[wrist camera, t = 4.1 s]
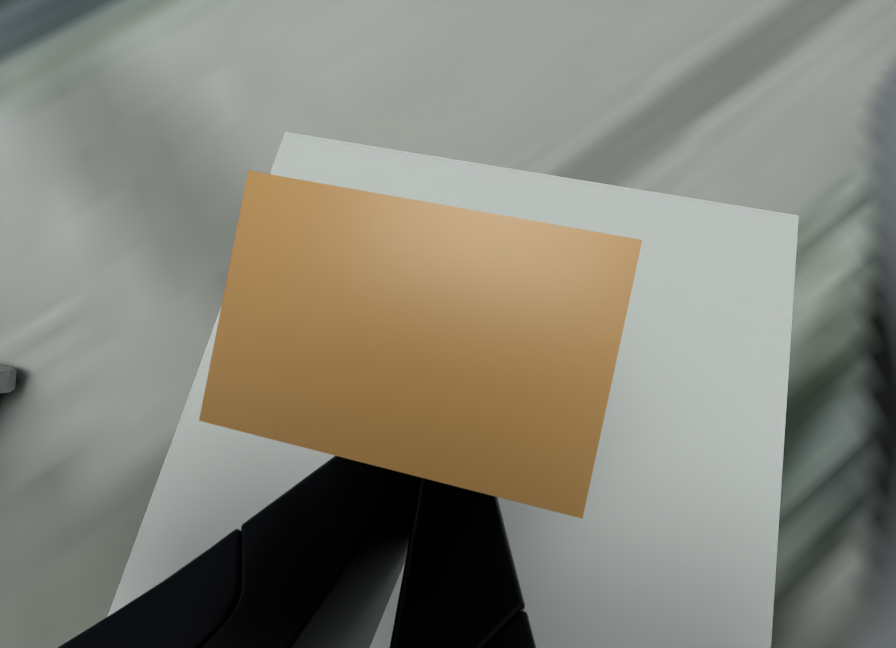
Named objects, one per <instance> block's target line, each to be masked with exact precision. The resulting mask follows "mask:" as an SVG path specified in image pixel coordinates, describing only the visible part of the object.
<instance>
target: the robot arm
mask: <svg viewBox="0 0 896 648" xmlns="http://www.w3.org/2000/svg"><path fill="white" fill-rule="evenodd" d="M404 563H405V565H404ZM403 565H404V571H403V576H402V582H401V587H400V593H399V598H398V604H397V609H396V615H395V620H394V626H393V631H392V637H391V642H390V648H536V645H535V641H534V637H533V633H532V629H531V625H530V621H529V617H528V614H527V612H525V611H524V609H525V603H524V599H523V595H522V591H521V587H520V583H519V580H518V576H517V572H516V568H515V564H514V560H513V556H512V552H511V548H510V544H509V540H508V536H507V532H506V529H505V525H504V521H503V517H502V513H501V509H500V505H499V501H498V497H495V496H491V495H488V494H484V493H480V492H476V491H472V490H468V489H464V488H460V487H456V486H452V485H448V484H445V483H441V482H437V481H433V480H429V479H425V478H421V477H417V476H413V475H409V474H405V473H402V472H398V471H394V470H390V469H386V468H382V467H378V466H374V465H370V464H366V463H362V462H359V461H355V460H351V459H347V458H343V457H339V456H334V457H333V458H331V459H330V460H328V461H327V462H326V463H324V464H323V465H322V466H320V467H319V468H318V469H316V470H315V471H314V472H312V473H311V474H310V475H308V476H307V477H305V478H304V479H303V480H301V481H300V482H299V483H297V484H296V485H295V486H293V487H292V488H291V489H289V490H288V491H287V492H285V493H284V494H283V495H281V496H280V497H278V498H277V499H276V500H274V501H273V502H272V503H270V504H269V505H268V506H266V507H265V508H264V509H262V510H261V511H260V512H258V513H257V514H256V515H254V516H253V517H251V518H250V519H249V520H247V521H246V522H245V523H243V524H242V526H241V530H239V529H235V530H233V531H232V532H231V533H229V534H228V535H227V536H225V537H224V538H223V539H221V540H220V541H219V542H217V543H216V544H215V545H213V546H212V547H210V548H209V549H208V550H206V551H205V552H204V553H202V554H201V555H199V556H198V557H196V558H195V559H194V560H192V561H191V562H189V563H188V564H186V565H185V566H184V567H182V568H181V569H179V570H178V571H177V572H175V573H174V574H172V575H171V576H169V577H168V578H167V579H165V580H164V581H162V582H161V583H159V584H158V585H156V586H155V587H153V588H151V589H150V590H148V591H147V592H145V593H144V594H142V595H141V596H139V597H138V598H136V599H134V600H133V601H131V602H130V603H128V604H127V605H125V606H124V607H122V608H120V609H119V610H117V611H116V612H114V613H113V614H111V615H110V616H108V617H107V618H105V619H103V620H102V621H100V622H98V623H97V624H95V625H94V626H92V627H90V628H89V629H87V630H85V631H84V632H82V633H81V634H79V635H77V636H76V637H74V638H73V639H71V640H69V641H68V642H66V643H64V644H63V645H61V646H60V647H58V648H370V645H371V643H372V640H373V638H374V635H375V633H376V631H377V628H378V626H379V623H380V621H381V619H382V616H383V614H384V611H385V609H386V606H387V604H388V602H389V599H390V597H391V594H392V592H393V590H394V587H395V585H396V582H397V580H398V577H399V575H400V573H401V570H402V568H403Z"/></svg>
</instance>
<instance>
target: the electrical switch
mask: <svg viewBox="0 0 896 648" xmlns="http://www.w3.org/2000/svg"><path fill="white" fill-rule="evenodd" d="M16 372H17V370H16V369H14V368H13V367H11V366H6V365H0V393H8V392H11V391H12V390H14V389H15V384H16Z"/></svg>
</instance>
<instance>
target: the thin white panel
mask: <svg viewBox="0 0 896 648" xmlns="http://www.w3.org/2000/svg"><path fill="white" fill-rule="evenodd" d="M270 174H271V175H277V176H282V177H288V178H294V179H299V180H305V181H311V182H316V183H322V184H328V185H333V186H339V187H345V188H350V189H356V190H362V191H367V192H373V193H379V194H384V195H390V196H396V197H401V198H407V199H413V200H418V201H424V202H430V203H435V204H441V205H447V206H452V207H458V208H464V209H469V210H475V211H481V212H486V213H492V214H498V215H503V216H509V217H515V218H520V219H526V220H532V221H537V222H543V223H549V224H554V225H560V226H566V227H572V228H577V229H583V230H589V231H594V232H600V233H606V234H611V235H617V236H623V237H628V238H634V239H640V240H642V244H641V249H640V253H639V258H638V263H637V267H636V272H635V276H634V281H633V286H632V290H631V295H630V300H629V304H628V309H627V314H626V318H625V323H624V328H623V332H622V337H621V342H620V346H619V351H618V356H617V360H616V365H615V370H614V374H613V379H612V384H611V388H610V393H609V398H608V402H607V407H606V412H605V416H604V421H603V426H602V430H601V435H600V440H599V444H598V449H597V454H596V458H595V463H594V468H593V472H592V477H591V482H590V486H589V491H588V496H587V500H586V505H585V510H584V514H583V519H581V518H578V517H574V516H570V515H566V514H562V513H558V512H554V511H550V510H546V509H542V508H538V507H535V506H531V505H527V504H523V503H519V502H515V501H511V500H507V499H503V498H499V497H498V501H499V505H500V509H501V513H502V517H503V521H504V525H505V529H506V532H507V536H508V540H509V544H510V548H511V552H512V556H513V560H514V564H515V568H516V572H517V576H518V580H519V583H520V587H521V591H522V595H523V599H524V603H525V609H524V611H525V612H527V614H528V617H529V621H530V625H531V629H532V633H533V637H534V641H535V645H536V648H771V639H772V623H773V607H774V592H775V576H776V561H777V545H778V529H779V514H780V498H781V483H782V467H783V451H784V436H785V420H786V405H787V389H788V373H789V358H790V342H791V327H792V311H793V295H794V280H795V264H796V249H797V233H798V217H799V216H798V215H792V214H786V213H780V212H774V211H768V210H761V209H755V208H749V207H743V206H737V205H731V204H725V203H718V202H712V201H706V200H700V199H694V198H688V197H682V196H675V195H669V194H663V193H657V192H651V191H645V190H639V189H632V188H626V187H620V186H614V185H608V184H602V183H596V182H589V181H583V180H577V179H571V178H565V177H559V176H553V175H546V174H540V173H534V172H528V171H522V170H516V169H510V168H503V167H497V166H491V165H485V164H479V163H473V162H467V161H460V160H454V159H448V158H442V157H436V156H430V155H424V154H417V153H411V152H405V151H399V150H393V149H387V148H381V147H374V146H368V145H362V144H356V143H350V142H344V141H338V140H331V139H325V138H319V137H313V136H307V135H301V134H295V133H288V132H285V134H284V137H283V140H282V142H281V145H280V148H279V151H278V153H277V156H276V159H275V161H274V164H273V167H272V170H271V172H270ZM220 312H221V309H220V311H219V314H218V317H217V320H216V322H215V325H214V328H213V331H212V333H211V336H210V339H209V341H208V344H207V347H206V350H205V352H204V355H203V358H202V361H201V363H200V366H199V369H198V371H197V374H196V377H195V380H194V382H193V385H192V388H191V391H190V393H189V396H188V399H187V401H186V404H185V407H184V410H183V412H182V415H181V418H180V421H179V423H178V426H177V429H176V431H175V434H174V437H173V440H172V442H171V445H170V448H169V451H168V453H167V456H166V459H165V461H164V464H163V467H162V470H161V472H160V475H159V478H158V481H157V483H156V486H155V489H154V491H153V494H152V497H151V500H150V502H149V505H148V508H147V510H146V513H145V516H144V519H143V521H142V524H141V527H140V530H139V532H138V535H137V538H136V540H135V543H134V546H133V549H132V551H131V554H130V557H129V560H128V562H127V565H126V568H125V570H124V573H123V576H122V579H121V581H120V584H119V587H118V590H117V592H116V595H115V598H114V600H113V603H112V606H111V609H110V611H109V614H108V616H110V615H111V614H113V613H114V612H116V611H117V610H119V609H120V608H122V607H124V606H125V605H127V604H128V603H130V602H131V601H133V600H134V599H136V598H138V597H139V596H141V595H142V594H144V593H145V592H147V591H148V590H150V589H151V588H153V587H155V586H156V585H158V584H159V583H161V582H162V581H164V580H165V579H167V578H168V577H169V576H171V575H172V574H174V573H175V572H177V571H178V570H179V569H181V568H182V567H184V566H185V565H186V564H188V563H189V562H191V561H192V560H194V559H195V558H196V557H198V556H199V555H201V554H202V553H204V552H205V551H206V550H208V549H209V548H210V547H212V546H213V545H215V544H216V543H217V542H219V541H220V540H221V539H223V538H224V537H225V536H227V535H228V534H229V533H231V532H232V531H233V530H235V529H239V530H241V526H242V524H243V523H245V522H246V521H247V520H249V519H250V518H251V517H253V516H254V515H256V514H257V513H258V512H260V511H261V510H262V509H264V508H265V507H266V506H268V505H269V504H270V503H272V502H273V501H274V500H276V499H277V498H278V497H280V496H281V495H283V494H284V493H285V492H287V491H288V490H289V489H291V488H292V487H293V486H295V485H296V484H297V483H299V482H300V481H301V480H303V479H304V478H305V477H307V476H308V475H310V474H311V473H312V472H314V471H315V470H316V469H318V468H319V467H320V466H322V465H323V464H324V463H326V462H327V461H328V460H330V459H331V458H333V457H334V456H335V455H331V454H327V453H323V452H319V451H315V450H312V449H308V448H304V447H300V446H296V445H292V444H288V443H284V442H280V441H276V440H272V439H269V438H265V437H261V436H257V435H253V434H249V433H245V432H241V431H237V430H233V429H229V428H226V427H222V426H218V425H214V424H210V423H206V422H202V421H199V418H200V413H201V408H202V403H203V398H204V392H205V387H206V382H207V377H208V372H209V367H210V362H211V357H212V352H213V347H214V342H215V337H216V332H217V327H218V322H219V317H220ZM404 565H405V563H404ZM404 565H403V568H402V570H401V573H400V575H399V577H398V580H397V582H396V585H395V587H394V590H393V592H392V594H391V597H390V599H389V602H388V604H387V606H386V609H385V611H384V614H383V616H382V619H381V621H380V623H379V626H378V628H377V631H376V633H375V635H374V638H373V640H372V643H371V645H370V648H390V642H391V637H392V631H393V626H394V620H395V615H396V609H397V604H398V598H399V593H400V587H401V582H402V576H403V571H404Z"/></svg>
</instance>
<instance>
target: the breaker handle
mask: <svg viewBox="0 0 896 648" xmlns="http://www.w3.org/2000/svg"><path fill="white" fill-rule="evenodd" d="M641 244H642V240H640V239H634V238H628V237H623V236H617V235H611V234H606V233H600V232H594V231H589V230H583V229H577V228H572V227H566V226H560V225H554V224H549V223H543V222H537V221H532V220H526V219H520V218H515V217H509V216H503V215H498V214H492V213H486V212H481V211H475V210H469V209H464V208H458V207H452V206H447V205H441V204H435V203H430V202H424V201H418V200H413V199H407V198H401V197H396V196H390V195H384V194H379V193H373V192H367V191H362V190H356V189H350V188H345V187H339V186H333V185H328V184H322V183H316V182H311V181H305V180H299V179H294V178H288V177H282V176H277V175H271V174H265V173H260V172H254V171H248V175H247V180H246V185H245V190H244V195H243V200H242V205H241V210H240V215H239V221H238V226H237V231H236V236H235V241H234V246H233V251H232V256H231V261H230V266H229V271H228V276H227V281H226V286H225V291H224V296H223V301H222V306H221V312H220V317H219V322H218V327H217V332H216V337H215V342H214V347H213V352H212V357H211V362H210V367H209V372H208V377H207V382H206V387H205V392H204V398H203V403H202V408H201V413H200V418H199V421H202V422H206V423H210V424H214V425H218V426H222V427H226V428H229V429H233V430H237V431H241V432H245V433H249V434H253V435H257V436H261V437H265V438H269V439H272V440H276V441H280V442H284V443H288V444H292V445H296V446H300V447H304V448H308V449H312V450H315V451H319V452H323V453H327V454H331V455H335V456H339V457H343V458H347V459H351V460H355V461H359V462H362V463H366V464H370V465H374V466H378V467H382V468H386V469H390V470H394V471H398V472H402V473H405V474H409V475H413V476H417V477H421V478H425V479H429V480H433V481H437V482H441V483H445V484H448V485H452V486H456V487H460V488H464V489H468V490H472V491H476V492H480V493H484V494H488V495H491V496H495V497H499V498H503V499H507V500H511V501H515V502H519V503H523V504H527V505H531V506H535V507H538V508H542V509H546V510H550V511H554V512H558V513H562V514H566V515H570V516H574V517H578V518H581V519H583V514H584V510H585V505H586V500H587V496H588V491H589V486H590V482H591V477H592V472H593V468H594V463H595V458H596V454H597V449H598V444H599V440H600V435H601V430H602V426H603V421H604V416H605V412H606V407H607V402H608V398H609V393H610V388H611V384H612V379H613V374H614V370H615V365H616V360H617V356H618V351H619V346H620V342H621V337H622V332H623V328H624V323H625V318H626V314H627V309H628V304H629V300H630V295H631V290H632V286H633V281H634V276H635V272H636V267H637V263H638V258H639V253H640V249H641Z"/></svg>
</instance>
